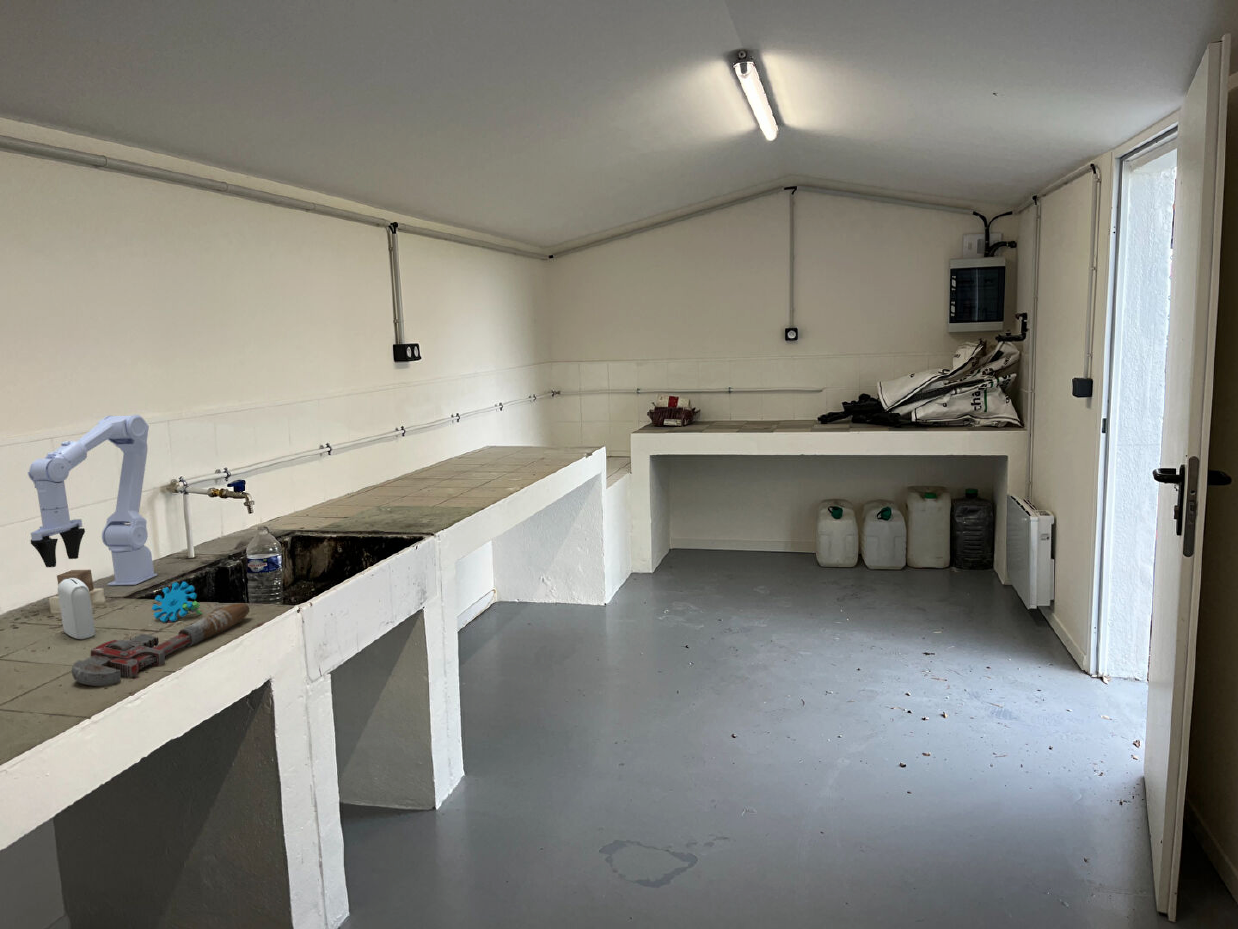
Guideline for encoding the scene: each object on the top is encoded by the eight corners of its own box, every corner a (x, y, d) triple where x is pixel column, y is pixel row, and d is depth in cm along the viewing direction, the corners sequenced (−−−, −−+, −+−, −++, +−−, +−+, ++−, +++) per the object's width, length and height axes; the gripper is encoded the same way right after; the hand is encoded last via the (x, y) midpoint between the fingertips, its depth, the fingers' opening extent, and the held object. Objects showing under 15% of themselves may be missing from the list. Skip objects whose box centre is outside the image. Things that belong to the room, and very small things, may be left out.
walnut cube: (75, 590, 218) (72, 570, 218) (93, 589, 218) (90, 569, 217) (59, 596, 214) (56, 575, 213) (79, 595, 213) (75, 575, 212)
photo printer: (61, 632, 197) (53, 577, 195) (83, 627, 200) (75, 573, 198) (76, 641, 190) (67, 585, 188) (98, 636, 193) (90, 580, 191)
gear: (141, 615, 201) (166, 576, 206) (157, 627, 205) (180, 588, 211) (181, 624, 197) (205, 584, 203) (196, 636, 202) (219, 597, 207)
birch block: (77, 604, 221) (75, 588, 220) (105, 604, 219) (103, 588, 218) (51, 614, 213) (48, 598, 212) (80, 614, 211) (77, 598, 211)
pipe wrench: (110, 691, 161) (106, 665, 160) (56, 687, 164) (52, 661, 164) (259, 619, 199) (256, 598, 199) (212, 617, 203) (209, 596, 202)
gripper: (60, 502, 224) (68, 555, 226) (15, 514, 210) (24, 571, 212) (86, 501, 223) (94, 554, 225) (43, 513, 209) (52, 570, 211)
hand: (62, 562), depth 218 cm, fingers open, 7 cm apart
